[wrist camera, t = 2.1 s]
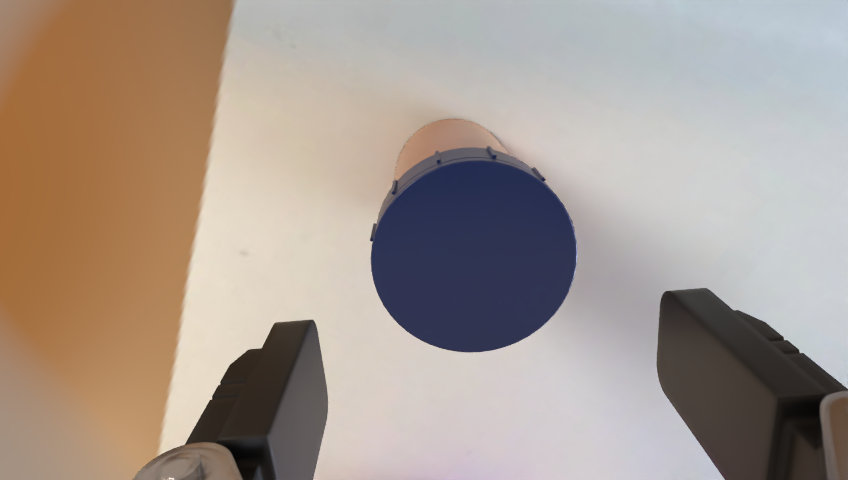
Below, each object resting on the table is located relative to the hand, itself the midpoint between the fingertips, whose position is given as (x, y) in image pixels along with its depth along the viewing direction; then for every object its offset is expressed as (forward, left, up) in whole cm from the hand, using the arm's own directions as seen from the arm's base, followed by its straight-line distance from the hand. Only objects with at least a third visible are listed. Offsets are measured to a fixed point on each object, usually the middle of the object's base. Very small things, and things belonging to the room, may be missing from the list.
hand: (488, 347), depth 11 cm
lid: (0, 0, -5) cm, 5 cm away
